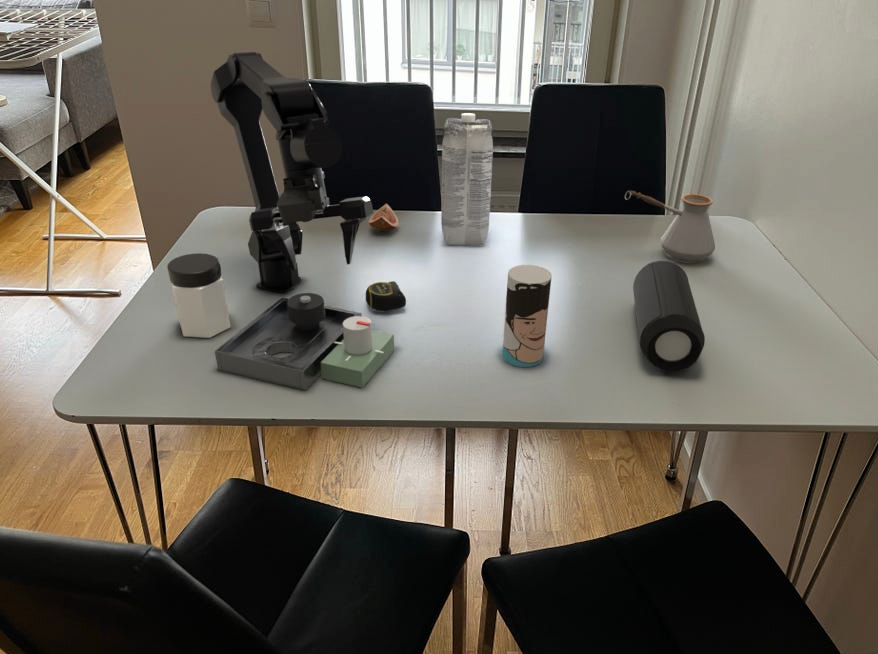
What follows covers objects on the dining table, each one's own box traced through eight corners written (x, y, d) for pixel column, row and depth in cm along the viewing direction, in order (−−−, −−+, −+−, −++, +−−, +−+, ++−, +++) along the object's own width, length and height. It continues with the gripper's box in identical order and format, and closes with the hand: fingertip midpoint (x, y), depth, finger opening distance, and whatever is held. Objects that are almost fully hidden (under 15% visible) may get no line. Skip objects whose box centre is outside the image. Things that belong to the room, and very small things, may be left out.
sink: (225, 368, 111) (223, 357, 110) (285, 317, 126) (284, 307, 125) (303, 386, 107) (302, 375, 106) (356, 331, 122) (355, 321, 121)
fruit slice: (395, 238, 158) (394, 216, 155) (365, 236, 158) (364, 215, 155) (400, 224, 165) (400, 203, 162) (372, 222, 165) (371, 202, 162)
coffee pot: (699, 244, 159) (713, 179, 151) (721, 266, 149) (738, 198, 141) (608, 247, 156) (617, 181, 148) (624, 269, 147) (636, 199, 139)
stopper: (283, 329, 118) (279, 302, 115) (301, 314, 123) (298, 287, 120) (314, 336, 116) (312, 308, 113) (332, 320, 121) (330, 293, 118)
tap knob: (339, 351, 111) (337, 325, 108) (352, 338, 114) (350, 312, 112) (365, 357, 109) (363, 330, 107) (377, 343, 113) (375, 317, 110)
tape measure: (407, 312, 128) (407, 294, 126) (370, 317, 126) (369, 298, 124) (398, 296, 134) (398, 278, 132) (362, 300, 132) (361, 282, 130)
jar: (234, 333, 120) (223, 269, 114) (184, 343, 117) (170, 278, 111) (225, 310, 127) (214, 248, 121) (177, 319, 124) (163, 256, 117)
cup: (508, 369, 113) (515, 285, 105) (497, 347, 119) (502, 266, 111) (548, 364, 115) (557, 281, 107) (535, 343, 120) (543, 263, 112)
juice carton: (488, 248, 154) (494, 122, 140) (440, 246, 154) (441, 120, 140) (487, 232, 162) (493, 111, 147) (442, 231, 162) (443, 109, 147)
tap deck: (317, 377, 110) (315, 360, 108) (352, 340, 119) (351, 324, 118) (367, 389, 107) (366, 371, 106) (399, 350, 117) (398, 334, 115)
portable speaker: (699, 380, 112) (713, 325, 107) (636, 373, 113) (646, 319, 108) (681, 306, 133) (691, 257, 128) (628, 301, 134) (636, 253, 129)
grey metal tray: (217, 370, 111) (214, 351, 109) (284, 314, 126) (281, 297, 125) (305, 390, 107) (303, 371, 105) (362, 330, 122) (361, 312, 120)
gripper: (224, 180, 103) (248, 284, 108) (347, 165, 101) (366, 272, 106) (253, 173, 113) (273, 268, 118) (365, 159, 111) (381, 257, 116)
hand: (321, 266), depth 114 cm, fingers open, 9 cm apart
